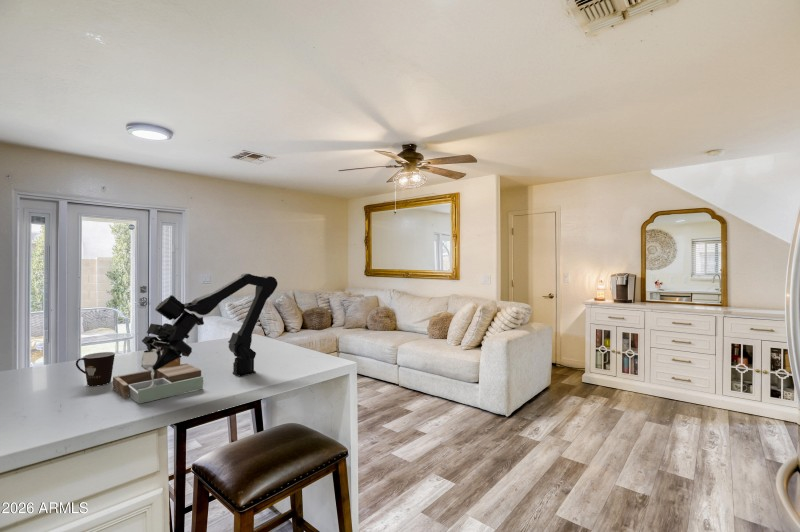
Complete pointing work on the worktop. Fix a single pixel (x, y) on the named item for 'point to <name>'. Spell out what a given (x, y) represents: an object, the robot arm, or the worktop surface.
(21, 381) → the worktop surface
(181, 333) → the robot arm
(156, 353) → the wineglass
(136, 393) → the tray
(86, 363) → the coffee mug
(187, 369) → the divided wooden organizer
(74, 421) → the worktop surface
